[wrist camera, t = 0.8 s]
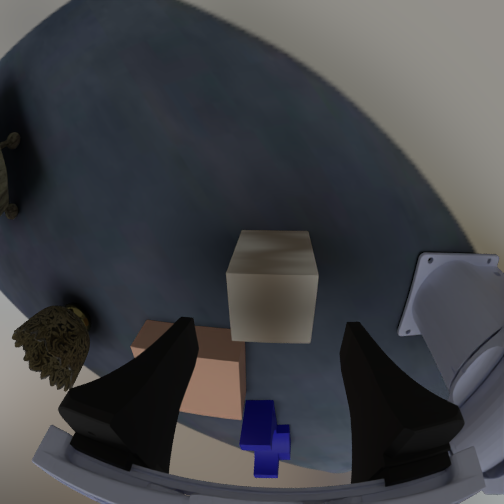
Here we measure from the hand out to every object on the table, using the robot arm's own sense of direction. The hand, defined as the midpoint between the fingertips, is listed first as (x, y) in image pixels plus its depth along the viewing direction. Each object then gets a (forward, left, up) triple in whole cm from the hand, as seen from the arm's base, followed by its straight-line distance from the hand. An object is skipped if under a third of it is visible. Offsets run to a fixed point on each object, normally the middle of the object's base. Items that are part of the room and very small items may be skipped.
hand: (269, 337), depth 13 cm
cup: (+20, +7, -8) cm, 23 cm away
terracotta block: (+7, +11, -8) cm, 15 cm away
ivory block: (0, 0, -8) cm, 8 cm away
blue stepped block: (0, +23, -8) cm, 25 cm away
